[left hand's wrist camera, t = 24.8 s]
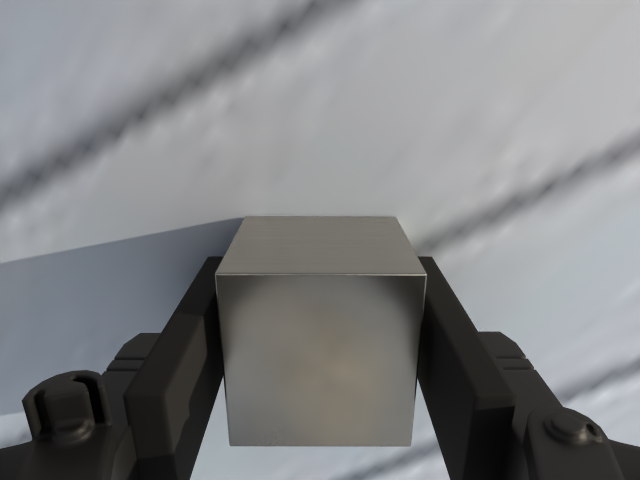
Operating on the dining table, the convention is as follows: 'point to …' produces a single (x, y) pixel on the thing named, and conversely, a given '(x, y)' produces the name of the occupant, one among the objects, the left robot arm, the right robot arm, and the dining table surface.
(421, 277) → the grey square block
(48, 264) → the dining table surface
